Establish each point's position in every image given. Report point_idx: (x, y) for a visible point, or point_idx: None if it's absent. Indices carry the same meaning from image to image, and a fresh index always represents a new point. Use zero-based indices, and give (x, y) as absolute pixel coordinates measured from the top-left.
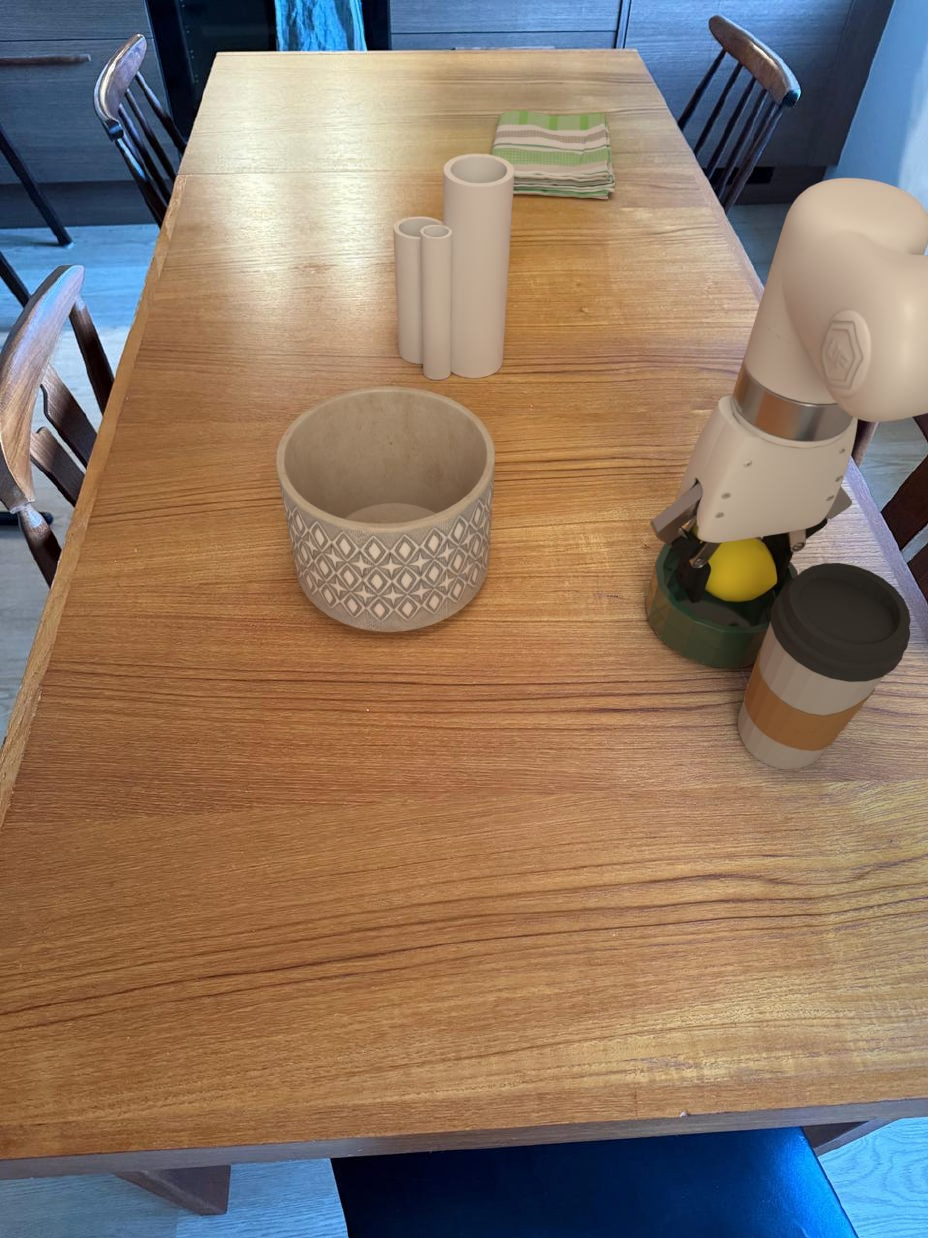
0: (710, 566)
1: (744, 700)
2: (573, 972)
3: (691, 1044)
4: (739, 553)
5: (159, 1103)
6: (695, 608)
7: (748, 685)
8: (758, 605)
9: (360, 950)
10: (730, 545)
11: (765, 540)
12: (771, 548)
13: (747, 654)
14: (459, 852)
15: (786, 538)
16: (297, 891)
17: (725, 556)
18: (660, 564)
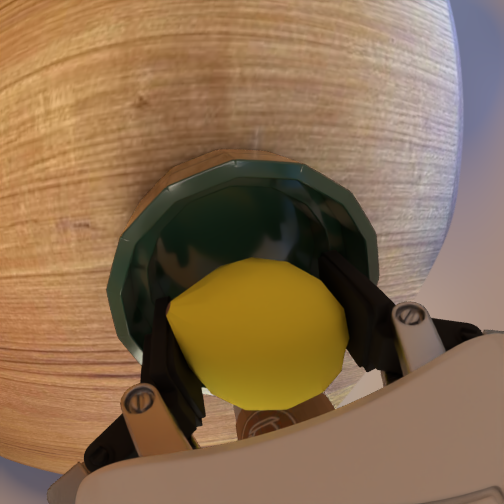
0: (204, 416)
1: (236, 422)
2: None
3: None
4: (273, 409)
5: (19, 460)
6: (206, 254)
7: (240, 436)
8: (305, 240)
9: (40, 450)
10: (258, 398)
11: (355, 306)
12: (355, 329)
13: None
14: (52, 434)
15: (388, 366)
16: (4, 430)
17: (240, 407)
18: (116, 292)
